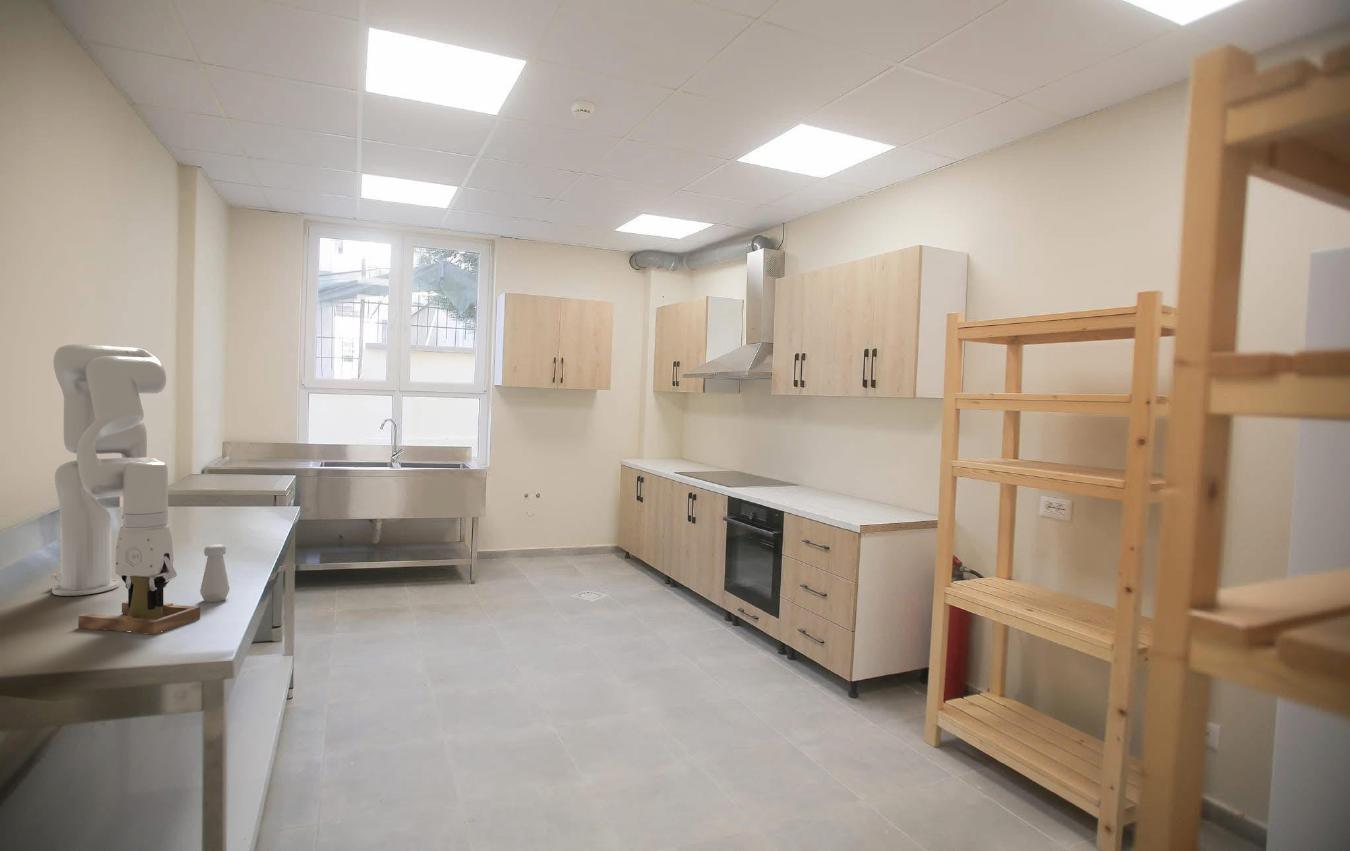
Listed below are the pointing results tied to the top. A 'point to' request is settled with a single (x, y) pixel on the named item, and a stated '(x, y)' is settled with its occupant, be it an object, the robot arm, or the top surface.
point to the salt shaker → (215, 575)
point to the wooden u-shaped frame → (171, 613)
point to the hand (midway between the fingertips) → (146, 606)
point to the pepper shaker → (142, 600)
